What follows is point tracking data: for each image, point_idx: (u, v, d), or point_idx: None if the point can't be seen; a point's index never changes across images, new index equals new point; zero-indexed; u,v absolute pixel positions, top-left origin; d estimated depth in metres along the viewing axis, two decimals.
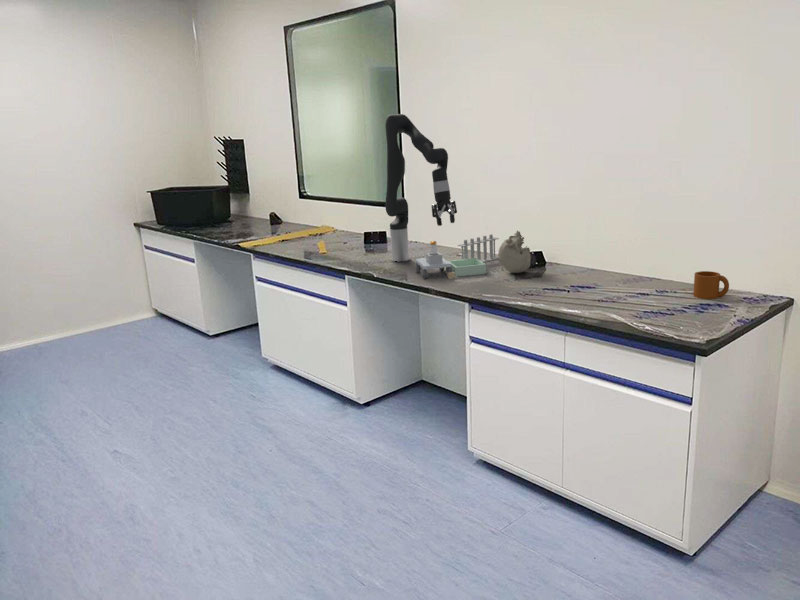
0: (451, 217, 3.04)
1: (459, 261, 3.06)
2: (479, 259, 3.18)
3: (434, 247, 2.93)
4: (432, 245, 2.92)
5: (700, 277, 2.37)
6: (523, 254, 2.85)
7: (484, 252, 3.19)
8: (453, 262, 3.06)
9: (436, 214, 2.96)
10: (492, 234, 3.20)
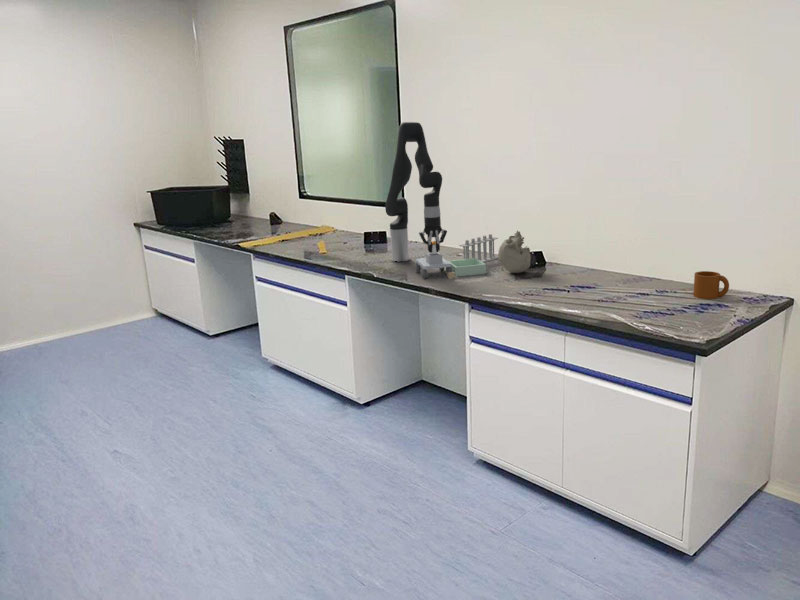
0: None
1: (459, 261, 3.06)
2: (480, 259, 3.17)
3: (434, 247, 2.93)
4: (432, 245, 2.92)
5: (700, 277, 2.37)
6: (523, 254, 2.85)
7: (484, 252, 3.19)
8: (453, 262, 3.06)
9: (425, 241, 2.91)
10: (491, 234, 3.21)
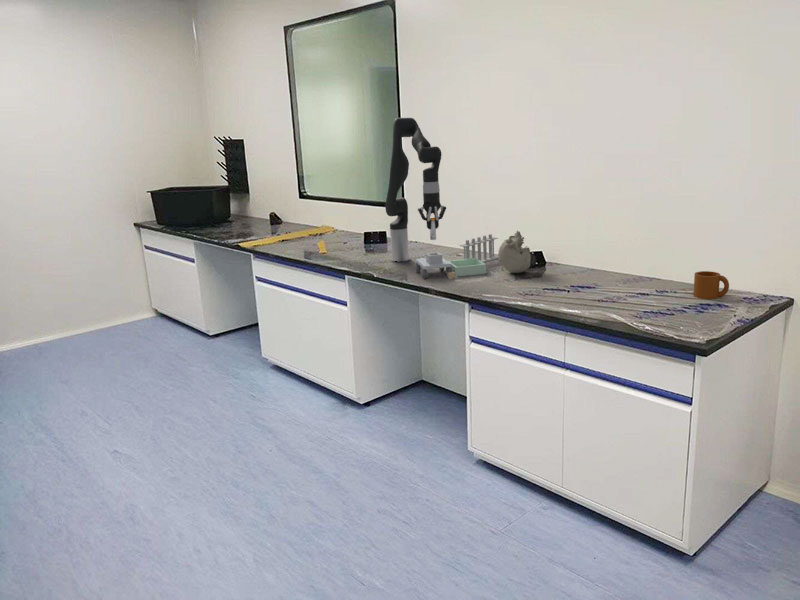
0: None
1: (459, 261, 3.06)
2: (480, 259, 3.17)
3: (433, 223, 2.89)
4: (431, 221, 2.89)
5: (700, 277, 2.37)
6: (523, 254, 2.85)
7: (484, 252, 3.19)
8: (453, 262, 3.06)
9: (424, 218, 2.88)
10: (491, 234, 3.21)
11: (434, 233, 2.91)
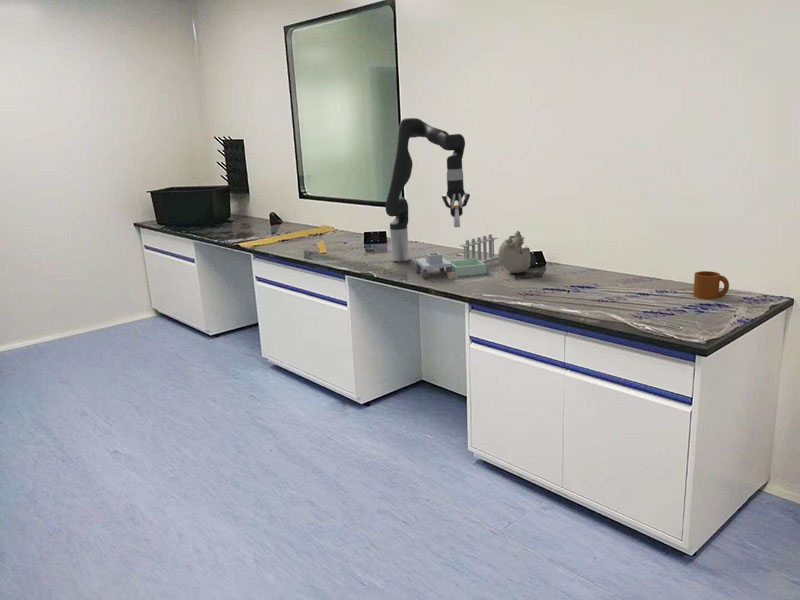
0: (459, 210, 2.92)
1: (459, 261, 3.06)
2: (480, 259, 3.18)
3: (457, 211, 2.91)
4: (455, 209, 2.90)
5: (700, 277, 2.37)
6: (523, 254, 2.85)
7: (484, 252, 3.19)
8: (453, 262, 3.06)
9: (448, 205, 2.89)
10: (491, 234, 3.21)
11: (458, 220, 2.92)
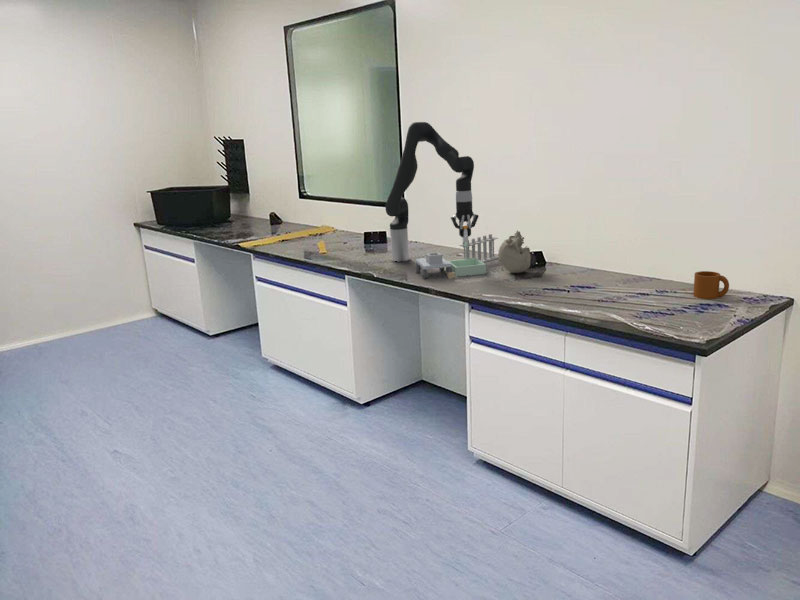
0: None
1: (459, 261, 3.06)
2: (480, 259, 3.18)
3: (466, 231, 2.95)
4: (464, 229, 2.95)
5: (700, 277, 2.37)
6: (523, 254, 2.85)
7: (484, 252, 3.20)
8: (453, 262, 3.06)
9: (457, 226, 2.93)
10: (491, 234, 3.21)
11: (467, 241, 2.96)
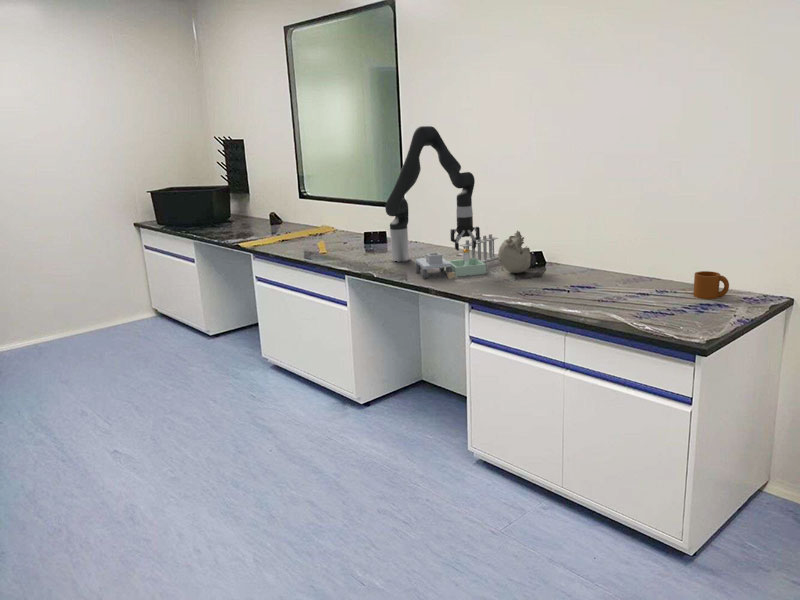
0: (472, 243, 2.98)
1: (459, 261, 3.06)
2: (480, 259, 3.18)
3: (467, 255, 2.98)
4: (465, 253, 2.98)
5: (700, 277, 2.37)
6: (523, 254, 2.85)
7: (484, 252, 3.20)
8: (453, 262, 3.06)
9: (453, 239, 2.95)
10: (491, 234, 3.21)
11: (467, 264, 2.99)
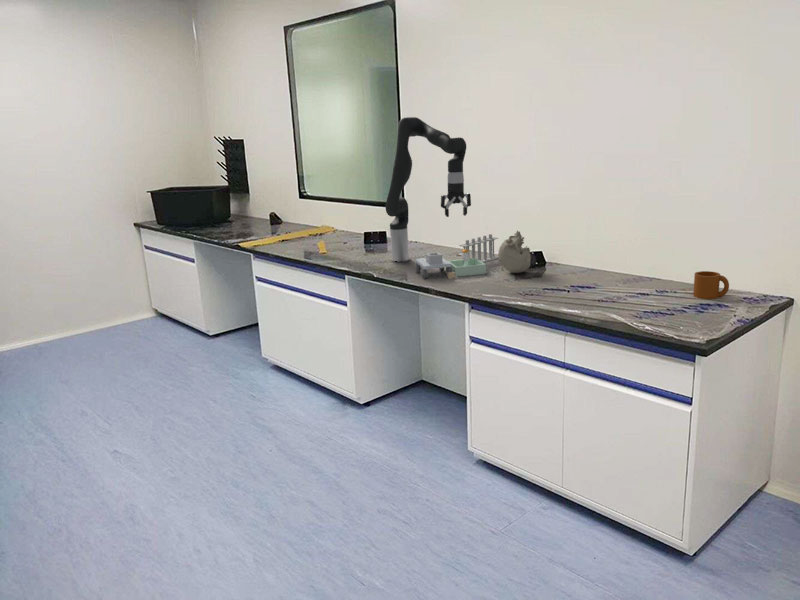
0: (463, 209, 2.97)
1: (459, 261, 3.06)
2: (480, 259, 3.18)
3: (466, 255, 2.98)
4: (464, 253, 2.98)
5: (700, 277, 2.37)
6: (523, 254, 2.85)
7: (484, 252, 3.20)
8: (453, 262, 3.06)
9: (443, 205, 2.93)
10: (491, 234, 3.21)
11: (467, 264, 2.99)
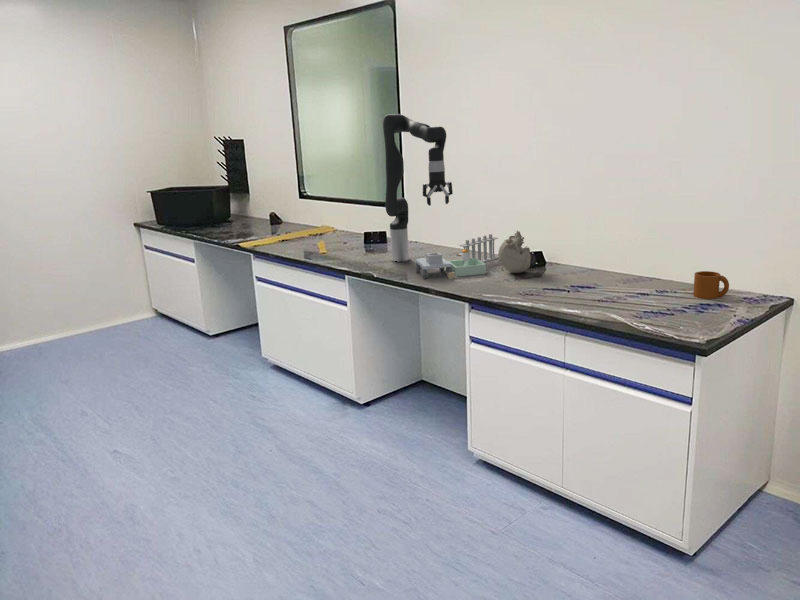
0: (445, 198, 3.00)
1: (459, 261, 3.06)
2: (480, 259, 3.18)
3: (466, 255, 2.98)
4: (464, 253, 2.98)
5: (700, 277, 2.37)
6: (523, 254, 2.85)
7: (484, 252, 3.20)
8: (453, 262, 3.06)
9: (424, 194, 2.96)
10: (491, 234, 3.21)
11: (467, 264, 2.99)
